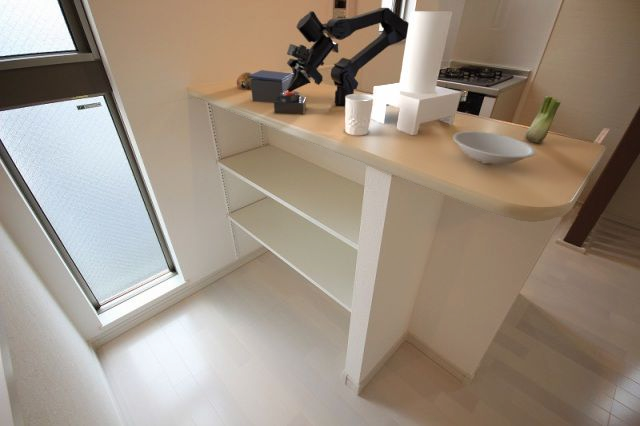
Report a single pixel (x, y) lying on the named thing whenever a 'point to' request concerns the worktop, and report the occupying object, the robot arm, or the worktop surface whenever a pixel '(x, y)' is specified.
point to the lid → (270, 75)
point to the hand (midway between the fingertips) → (288, 90)
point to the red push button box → (290, 104)
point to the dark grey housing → (268, 89)
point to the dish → (492, 147)
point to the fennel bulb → (543, 120)
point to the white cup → (358, 113)
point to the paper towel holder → (420, 76)
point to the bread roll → (244, 81)
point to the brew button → (289, 92)
